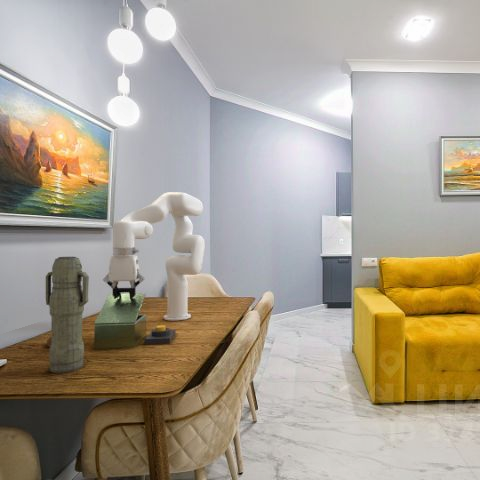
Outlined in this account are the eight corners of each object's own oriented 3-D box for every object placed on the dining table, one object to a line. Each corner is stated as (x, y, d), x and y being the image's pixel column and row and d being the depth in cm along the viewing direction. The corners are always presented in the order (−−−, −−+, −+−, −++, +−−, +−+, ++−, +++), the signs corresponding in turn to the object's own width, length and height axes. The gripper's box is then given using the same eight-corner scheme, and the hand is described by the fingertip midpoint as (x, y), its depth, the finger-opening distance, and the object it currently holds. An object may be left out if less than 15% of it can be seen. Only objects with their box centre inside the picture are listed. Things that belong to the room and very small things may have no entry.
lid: (109, 295, 142) (106, 285, 139) (145, 294, 145) (143, 284, 142) (94, 325, 128) (91, 314, 125) (135, 323, 131) (132, 312, 128)
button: (157, 329, 142) (157, 325, 142) (166, 329, 143) (166, 325, 143) (155, 332, 139) (155, 327, 139) (164, 331, 140) (164, 327, 140)
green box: (110, 336, 143) (110, 315, 143) (146, 335, 146) (146, 314, 146) (94, 349, 128) (94, 325, 128) (134, 347, 131) (134, 324, 131)
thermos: (82, 371, 108) (82, 258, 107) (37, 374, 105) (38, 258, 105) (93, 361, 117) (94, 256, 116) (53, 363, 114) (53, 256, 113)
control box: (152, 335, 146) (152, 326, 146) (175, 334, 148) (175, 325, 148) (144, 344, 134) (144, 334, 134) (169, 343, 136) (169, 333, 136)
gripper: (149, 251, 144) (149, 295, 144) (103, 251, 140) (104, 296, 141) (144, 253, 136) (144, 299, 137) (95, 253, 133) (96, 300, 134)
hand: (124, 297), depth 139 cm, fingers closed on lid, 5 cm apart
